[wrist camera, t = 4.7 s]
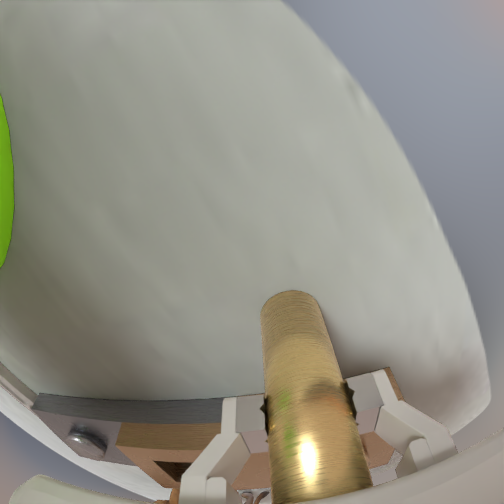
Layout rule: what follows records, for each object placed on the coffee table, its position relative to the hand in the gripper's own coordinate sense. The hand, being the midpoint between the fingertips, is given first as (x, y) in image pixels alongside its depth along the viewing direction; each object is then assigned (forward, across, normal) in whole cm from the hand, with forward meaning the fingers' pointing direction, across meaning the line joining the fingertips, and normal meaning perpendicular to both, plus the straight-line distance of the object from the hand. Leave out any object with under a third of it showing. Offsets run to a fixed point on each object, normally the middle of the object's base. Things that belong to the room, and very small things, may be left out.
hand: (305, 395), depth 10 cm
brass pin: (+5, 0, 0) cm, 5 cm away
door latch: (+5, +8, +10) cm, 14 cm away
